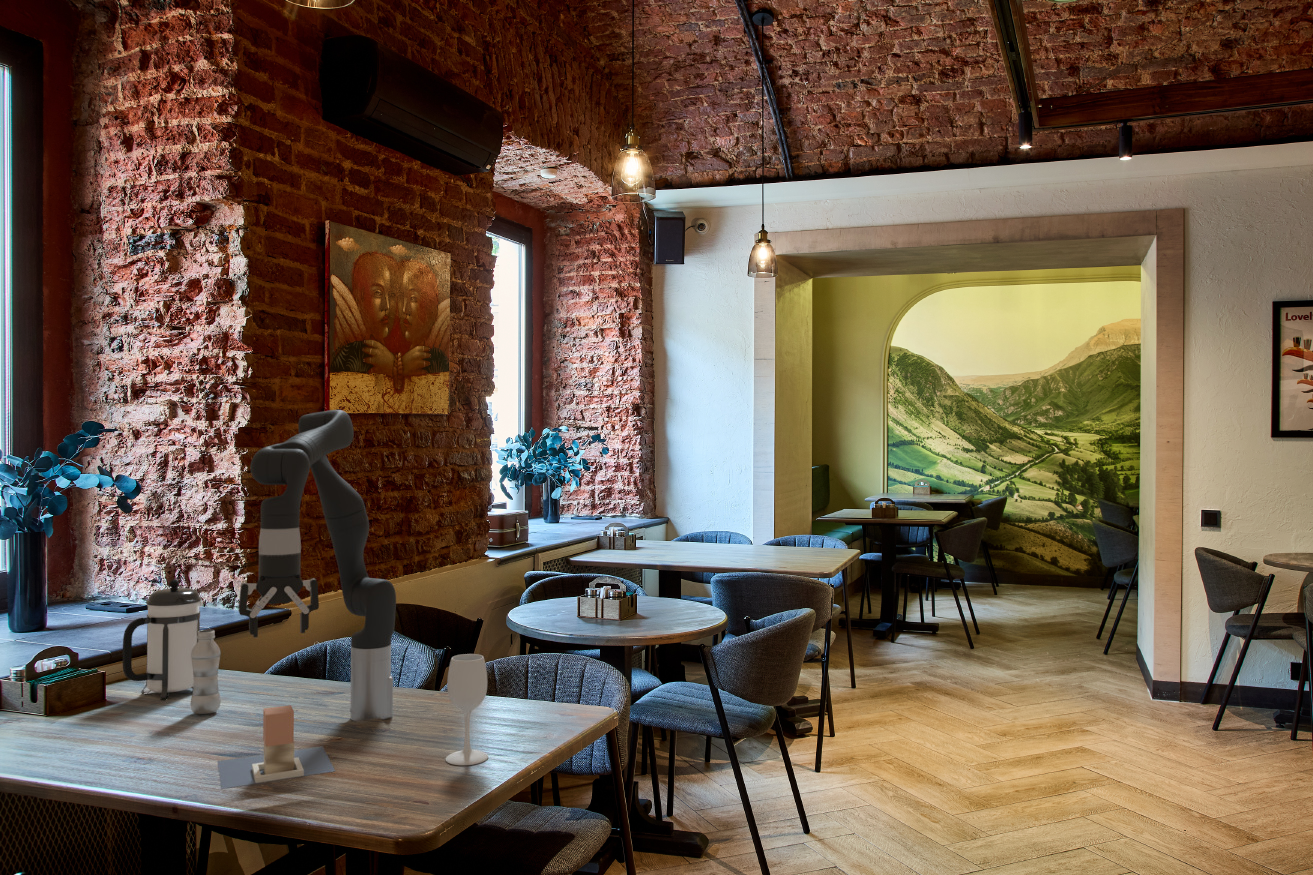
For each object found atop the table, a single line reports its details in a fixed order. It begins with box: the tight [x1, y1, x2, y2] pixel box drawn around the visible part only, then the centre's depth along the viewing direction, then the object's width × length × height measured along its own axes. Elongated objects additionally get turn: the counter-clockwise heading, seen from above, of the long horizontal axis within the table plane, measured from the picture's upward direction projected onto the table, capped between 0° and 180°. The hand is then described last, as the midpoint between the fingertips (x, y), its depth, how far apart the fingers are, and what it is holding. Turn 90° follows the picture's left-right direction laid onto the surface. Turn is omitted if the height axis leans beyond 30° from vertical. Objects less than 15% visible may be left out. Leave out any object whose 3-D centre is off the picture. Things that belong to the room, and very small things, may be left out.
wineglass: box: [445, 653, 489, 766], centre depth 188 cm, size 9×9×21 cm
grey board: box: [217, 746, 336, 790], centre depth 179 cm, size 20×17×2 cm
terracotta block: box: [262, 704, 295, 747], centre depth 175 cm, size 5×5×6 cm
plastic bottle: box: [189, 629, 222, 715], centre depth 220 cm, size 6×7×20 cm
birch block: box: [263, 742, 295, 774], centre depth 175 cm, size 5×5×6 cm
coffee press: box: [122, 579, 204, 701], centre depth 238 cm, size 17×16×30 cm
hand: (279, 634), depth 176 cm, fingers open, 8 cm apart
